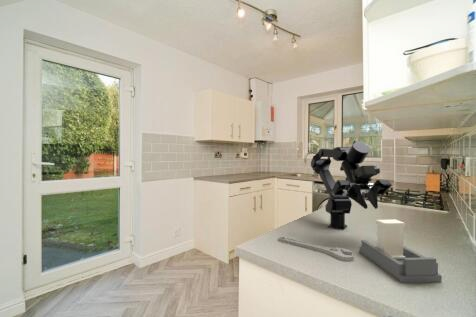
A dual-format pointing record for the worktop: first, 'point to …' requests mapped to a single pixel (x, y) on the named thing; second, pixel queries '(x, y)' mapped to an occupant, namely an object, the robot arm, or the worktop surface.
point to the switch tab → (390, 237)
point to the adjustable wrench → (322, 249)
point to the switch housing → (404, 264)
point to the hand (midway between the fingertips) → (371, 208)
